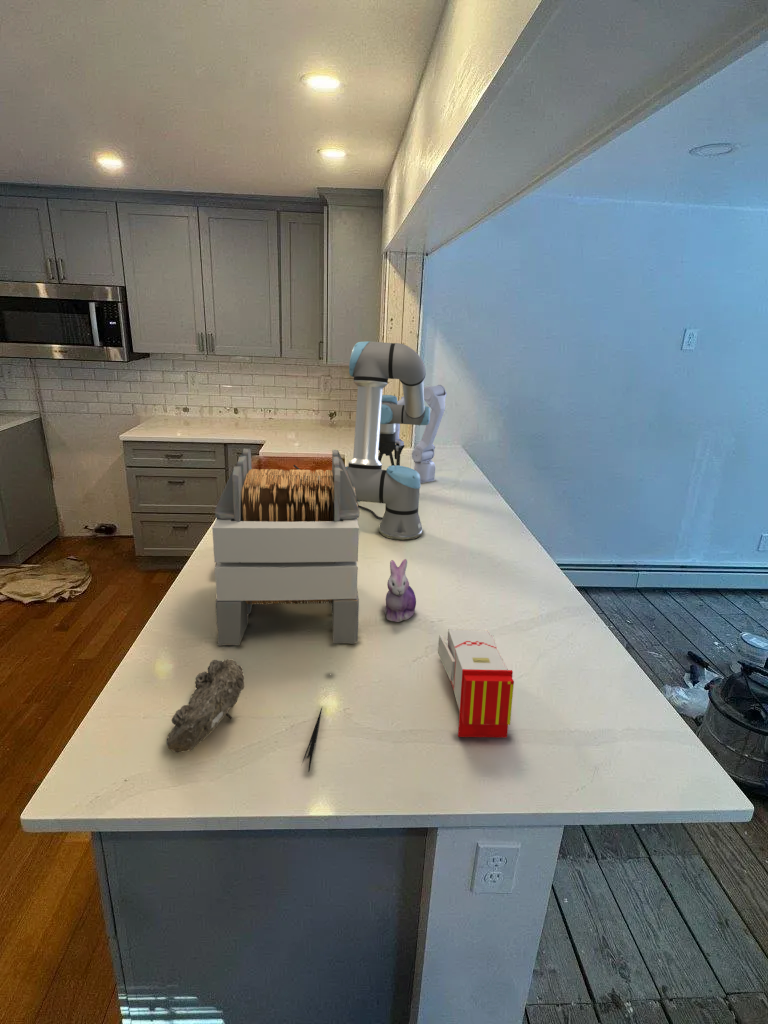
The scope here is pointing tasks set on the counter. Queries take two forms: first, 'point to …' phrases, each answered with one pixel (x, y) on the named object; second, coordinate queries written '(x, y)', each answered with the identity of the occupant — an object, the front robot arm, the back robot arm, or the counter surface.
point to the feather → (313, 740)
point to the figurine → (399, 594)
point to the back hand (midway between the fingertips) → (392, 457)
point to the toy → (478, 682)
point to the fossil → (206, 705)
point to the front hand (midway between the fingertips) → (384, 484)
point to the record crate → (286, 545)
